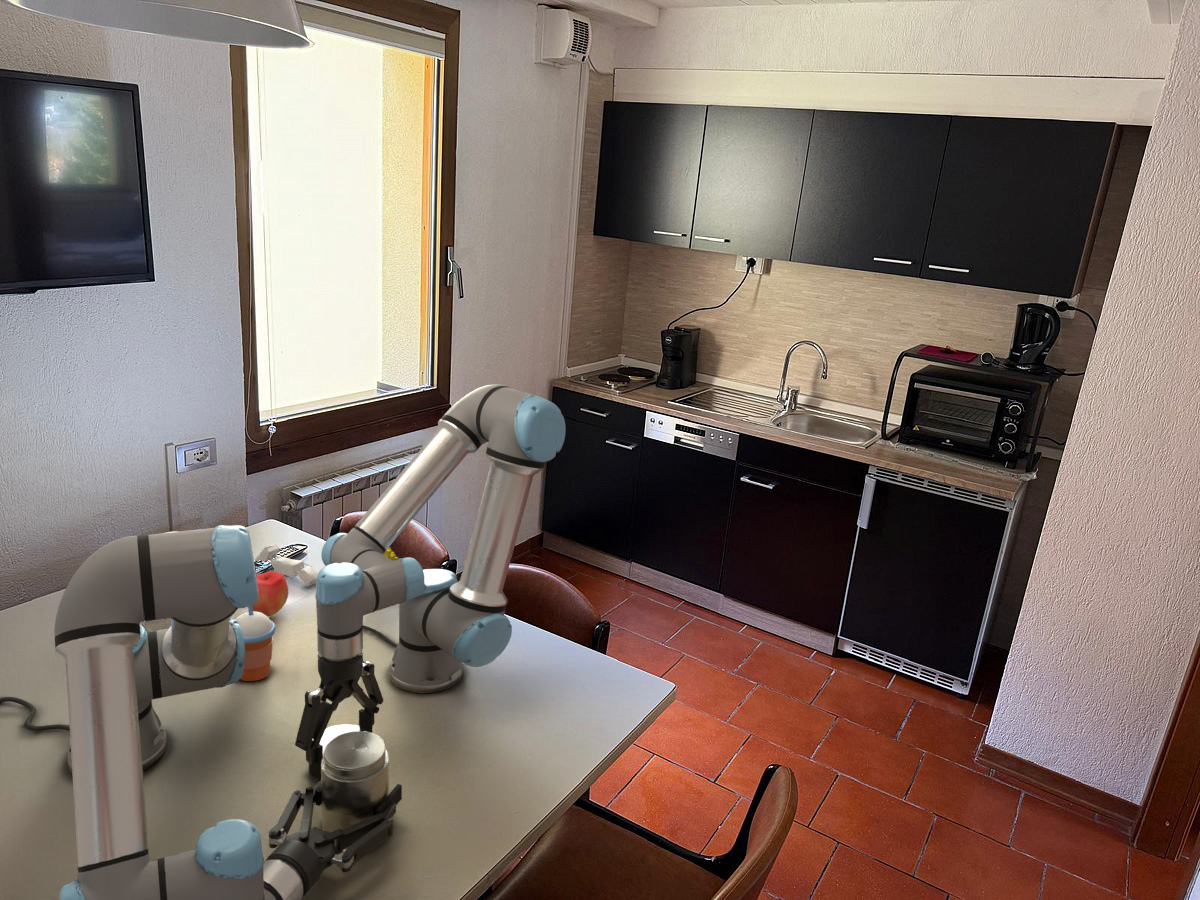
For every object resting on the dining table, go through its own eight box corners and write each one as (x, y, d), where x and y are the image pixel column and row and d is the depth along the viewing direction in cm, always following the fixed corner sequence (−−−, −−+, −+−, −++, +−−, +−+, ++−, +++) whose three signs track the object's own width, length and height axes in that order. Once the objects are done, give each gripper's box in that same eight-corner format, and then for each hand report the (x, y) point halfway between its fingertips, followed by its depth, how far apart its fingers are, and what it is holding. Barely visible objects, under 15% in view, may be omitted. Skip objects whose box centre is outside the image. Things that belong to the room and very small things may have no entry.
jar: (308, 832, 137) (306, 751, 132) (359, 798, 145) (359, 721, 140) (351, 863, 131) (350, 779, 127) (401, 826, 140) (402, 746, 135)
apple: (273, 600, 207) (272, 562, 204) (297, 613, 202) (296, 575, 199) (237, 614, 200) (234, 575, 197) (261, 628, 194) (259, 588, 191)
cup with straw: (261, 689, 172) (257, 609, 167) (220, 681, 174) (215, 601, 168) (285, 666, 181) (283, 589, 175) (246, 658, 182) (243, 582, 177)
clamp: (253, 565, 223) (254, 542, 221) (265, 560, 226) (266, 537, 224) (309, 593, 215) (310, 569, 213) (320, 588, 218) (321, 564, 216)
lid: (375, 768, 150) (375, 758, 150) (308, 777, 147) (308, 766, 146) (371, 731, 160) (371, 720, 160) (309, 738, 157) (308, 728, 156)
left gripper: (217, 877, 124) (310, 783, 144) (354, 925, 118) (431, 820, 138) (214, 834, 122) (309, 745, 142) (354, 882, 116) (432, 781, 136)
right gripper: (374, 618, 159) (374, 719, 166) (269, 672, 140) (273, 785, 146) (404, 631, 155) (403, 734, 162) (300, 688, 136) (304, 803, 143)
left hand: (370, 782), depth 140 cm, fingers closed on jar, 10 cm apart
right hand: (341, 758), depth 154 cm, fingers closed on lid, 11 cm apart
